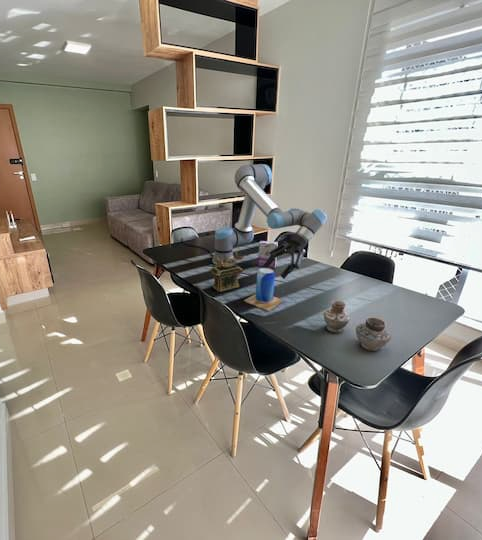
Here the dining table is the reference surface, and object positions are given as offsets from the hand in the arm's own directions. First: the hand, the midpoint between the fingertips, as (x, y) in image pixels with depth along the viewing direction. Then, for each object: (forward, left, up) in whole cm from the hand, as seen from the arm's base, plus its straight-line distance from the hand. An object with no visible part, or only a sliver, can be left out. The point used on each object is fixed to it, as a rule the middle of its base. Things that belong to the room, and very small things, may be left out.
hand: (273, 272), depth 139 cm
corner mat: (-1, -4, -15) cm, 15 cm away
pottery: (+41, -5, -15) cm, 44 cm away
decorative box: (-25, -3, -15) cm, 30 cm away
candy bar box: (-27, +37, -15) cm, 48 cm away
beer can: (-1, -4, -14) cm, 15 cm away
